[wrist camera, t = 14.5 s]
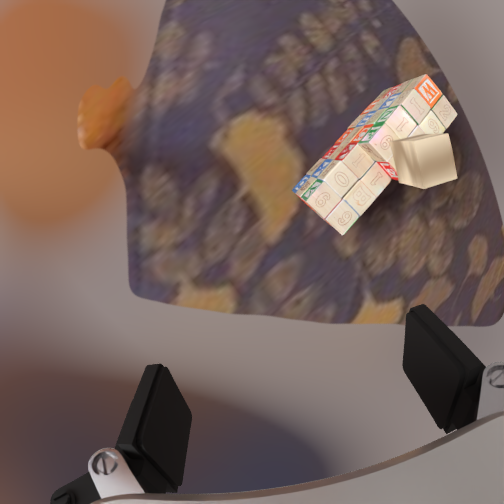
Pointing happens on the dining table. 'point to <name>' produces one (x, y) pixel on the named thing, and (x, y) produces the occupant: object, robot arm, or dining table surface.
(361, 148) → the stack of blocks
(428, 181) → the tan metal block
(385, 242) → the dining table surface
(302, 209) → the dining table surface
